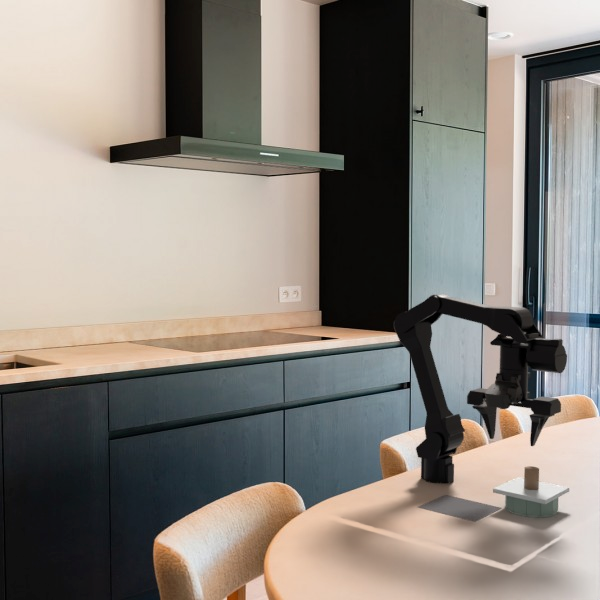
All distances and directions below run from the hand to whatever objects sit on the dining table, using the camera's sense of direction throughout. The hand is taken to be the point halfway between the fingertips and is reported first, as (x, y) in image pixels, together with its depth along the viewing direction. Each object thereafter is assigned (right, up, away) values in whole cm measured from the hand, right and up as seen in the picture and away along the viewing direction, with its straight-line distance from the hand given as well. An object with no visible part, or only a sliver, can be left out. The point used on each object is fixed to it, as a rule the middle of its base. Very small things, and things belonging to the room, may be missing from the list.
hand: (511, 442), depth 172 cm
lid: (+2, -9, -8) cm, 12 cm away
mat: (-12, -12, -7) cm, 19 cm away
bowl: (+2, -13, -8) cm, 15 cm away
